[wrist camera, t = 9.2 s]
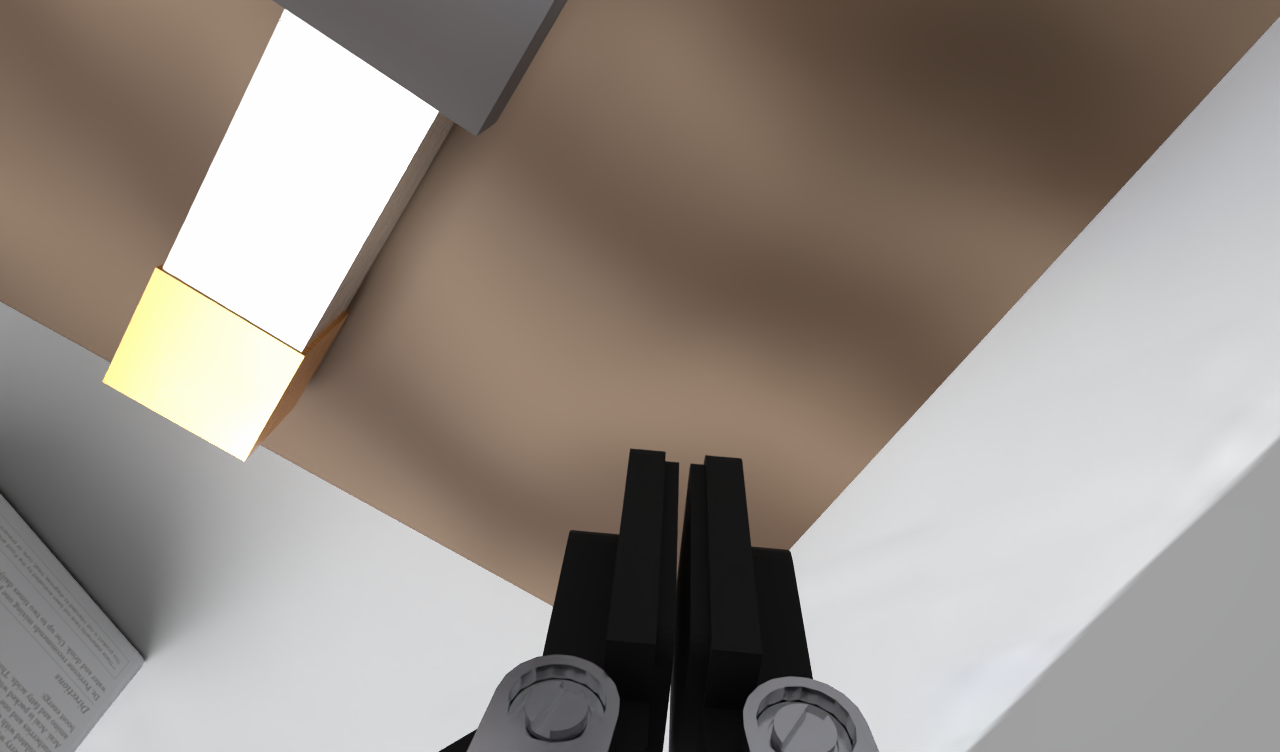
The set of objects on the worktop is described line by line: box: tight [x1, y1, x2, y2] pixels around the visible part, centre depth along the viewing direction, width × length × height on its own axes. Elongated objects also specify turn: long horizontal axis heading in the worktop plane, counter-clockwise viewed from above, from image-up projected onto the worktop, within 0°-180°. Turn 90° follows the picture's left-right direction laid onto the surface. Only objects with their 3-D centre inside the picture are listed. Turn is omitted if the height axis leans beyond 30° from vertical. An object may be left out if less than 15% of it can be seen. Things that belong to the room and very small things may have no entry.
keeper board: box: [0, 0, 1280, 606], centre depth 16 cm, size 22×22×8 cm
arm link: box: [102, 9, 455, 461], centre depth 14 cm, size 19×4×8 cm, turn 145°
